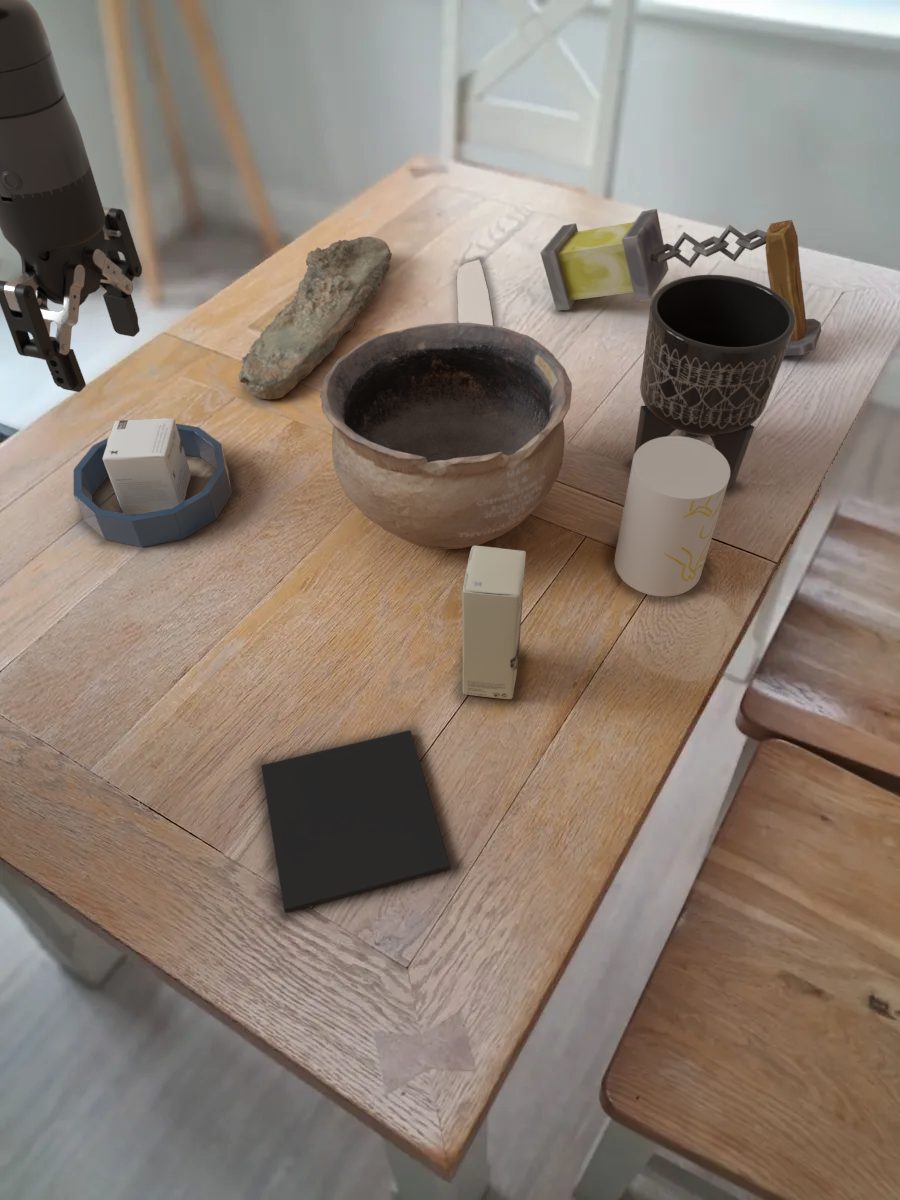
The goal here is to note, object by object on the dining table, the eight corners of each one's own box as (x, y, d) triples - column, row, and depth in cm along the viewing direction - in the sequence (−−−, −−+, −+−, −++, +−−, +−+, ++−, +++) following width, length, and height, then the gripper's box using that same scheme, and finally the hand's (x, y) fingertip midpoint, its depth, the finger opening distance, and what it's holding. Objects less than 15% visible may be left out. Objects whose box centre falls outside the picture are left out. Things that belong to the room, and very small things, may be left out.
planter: (635, 414, 100) (662, 264, 87) (753, 436, 98) (800, 285, 84) (613, 488, 92) (639, 336, 79) (741, 514, 89) (791, 361, 76)
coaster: (285, 913, 63) (284, 909, 63) (262, 769, 71) (261, 764, 70) (450, 869, 65) (450, 865, 65) (410, 733, 73) (410, 729, 72)
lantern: (574, 375, 120) (811, 356, 104) (540, 252, 110) (797, 210, 94) (594, 345, 125) (824, 323, 108) (562, 225, 115) (811, 181, 98)
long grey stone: (220, 401, 104) (299, 422, 103) (212, 364, 100) (294, 385, 98) (340, 245, 125) (408, 260, 123) (338, 209, 121) (407, 224, 119)
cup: (676, 610, 81) (702, 512, 72) (598, 570, 85) (614, 472, 76) (716, 558, 86) (746, 459, 77) (641, 522, 89) (661, 424, 80)
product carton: (183, 513, 90) (165, 456, 85) (122, 516, 90) (100, 459, 84) (192, 474, 94) (175, 416, 89) (133, 476, 94) (113, 419, 88)
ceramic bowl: (378, 615, 81) (365, 490, 70) (311, 470, 94) (291, 345, 83) (597, 549, 86) (617, 422, 75) (504, 420, 100) (509, 296, 89)
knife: (493, 256, 123) (458, 252, 123) (496, 401, 100) (454, 396, 100) (491, 265, 124) (457, 260, 124) (494, 411, 101) (452, 406, 101)
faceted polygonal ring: (84, 558, 86) (73, 532, 83) (83, 462, 95) (73, 436, 93) (238, 529, 89) (231, 502, 86) (222, 439, 98) (216, 412, 95)
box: (512, 702, 75) (520, 600, 65) (460, 695, 75) (460, 593, 66) (519, 652, 78) (528, 548, 69) (469, 646, 79) (471, 542, 69)
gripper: (47, 123, 70) (108, 310, 82) (-75, 203, 61) (13, 400, 73) (132, 134, 69) (181, 323, 81) (19, 218, 60) (93, 417, 72)
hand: (101, 360), depth 77 cm, fingers open, 8 cm apart
